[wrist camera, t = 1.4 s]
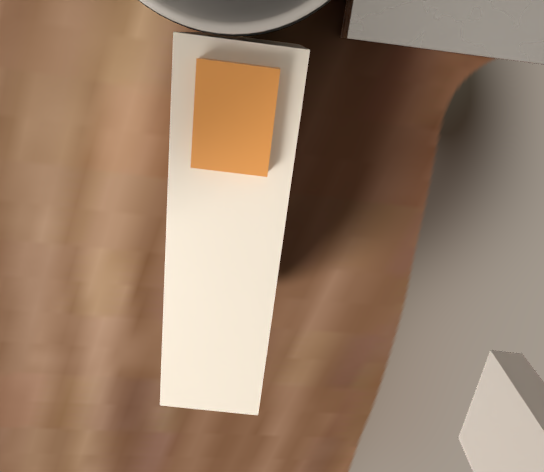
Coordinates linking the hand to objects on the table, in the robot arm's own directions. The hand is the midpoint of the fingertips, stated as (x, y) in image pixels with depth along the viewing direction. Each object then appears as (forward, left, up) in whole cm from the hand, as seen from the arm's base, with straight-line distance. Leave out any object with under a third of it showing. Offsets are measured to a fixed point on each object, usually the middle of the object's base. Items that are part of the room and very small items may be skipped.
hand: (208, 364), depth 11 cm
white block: (0, 0, -16) cm, 16 cm away
